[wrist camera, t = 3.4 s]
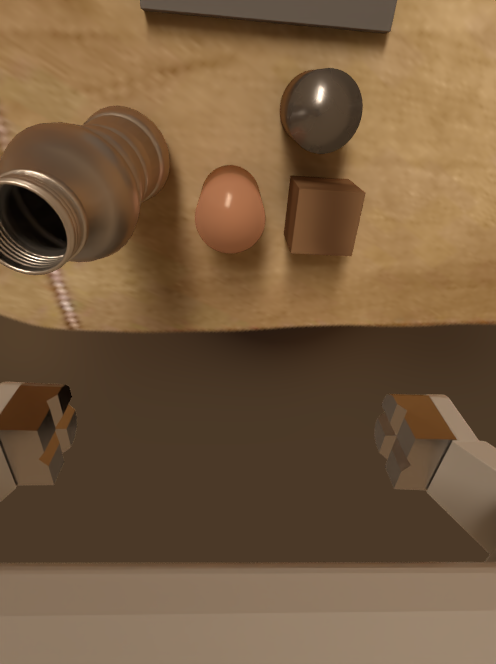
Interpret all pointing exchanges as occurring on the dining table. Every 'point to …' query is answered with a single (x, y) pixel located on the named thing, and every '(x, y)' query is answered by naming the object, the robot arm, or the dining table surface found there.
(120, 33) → the dining table surface
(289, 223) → the walnut block
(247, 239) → the terracotta jar
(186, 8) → the charcoal board
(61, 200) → the plastic bottle
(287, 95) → the dark metal tin
